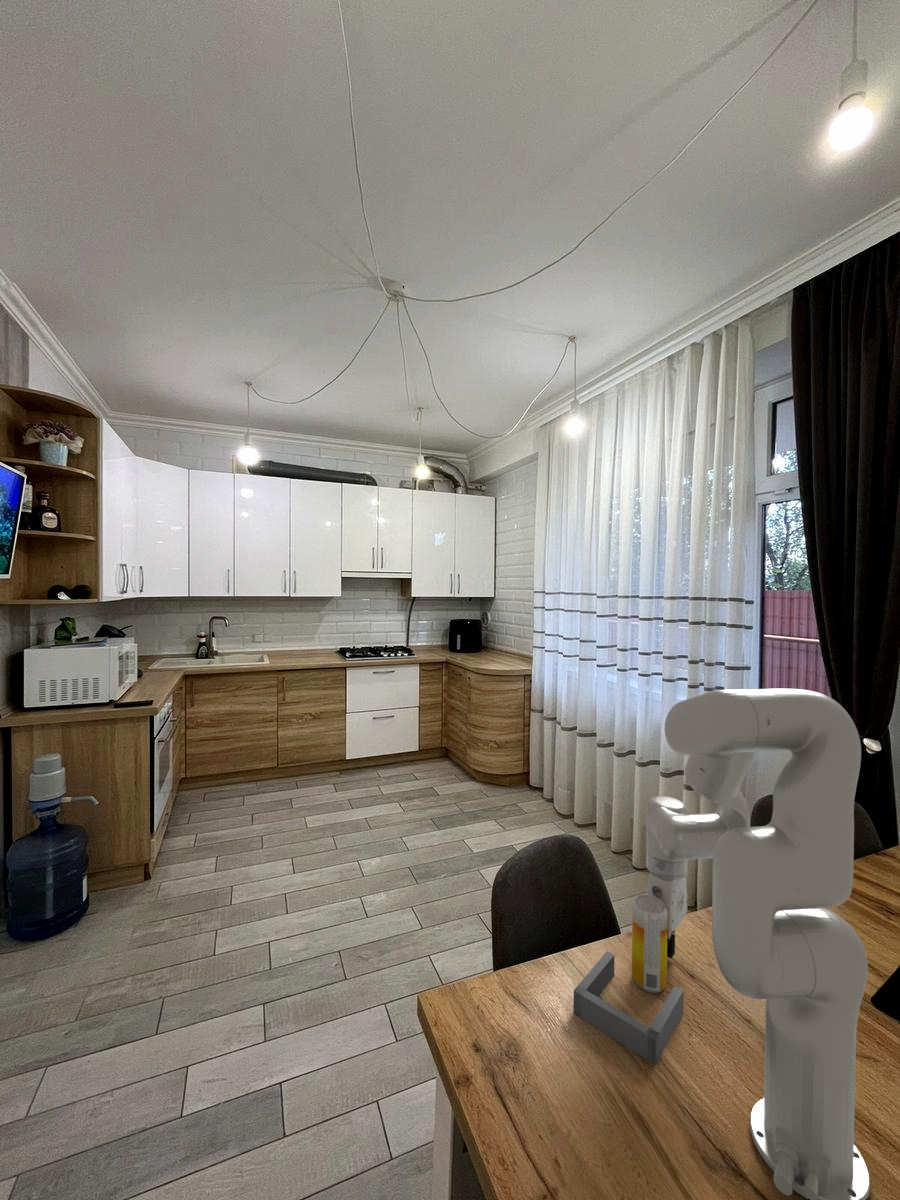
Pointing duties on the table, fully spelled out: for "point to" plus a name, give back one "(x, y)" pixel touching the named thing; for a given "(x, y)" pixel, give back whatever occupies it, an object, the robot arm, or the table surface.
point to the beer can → (649, 943)
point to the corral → (619, 1023)
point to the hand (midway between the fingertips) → (665, 952)
